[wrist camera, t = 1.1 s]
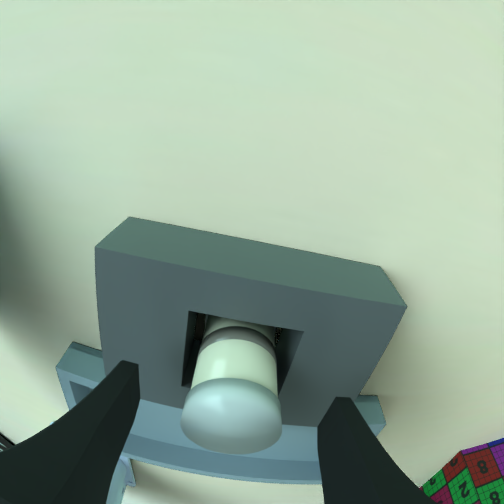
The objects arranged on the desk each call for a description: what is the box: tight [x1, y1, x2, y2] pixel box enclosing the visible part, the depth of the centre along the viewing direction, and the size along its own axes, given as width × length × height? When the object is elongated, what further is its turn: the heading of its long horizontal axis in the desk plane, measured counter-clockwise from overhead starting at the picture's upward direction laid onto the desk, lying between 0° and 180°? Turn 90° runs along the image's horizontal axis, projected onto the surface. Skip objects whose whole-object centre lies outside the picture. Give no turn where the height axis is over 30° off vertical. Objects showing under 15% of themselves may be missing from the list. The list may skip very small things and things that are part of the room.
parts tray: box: [56, 342, 386, 484], centre depth 18 cm, size 9×20×2 cm, turn 78°
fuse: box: [180, 314, 282, 454], centre depth 13 cm, size 3×3×7 cm
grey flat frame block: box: [95, 217, 407, 427], centre depth 14 cm, size 8×12×4 cm, turn 78°
